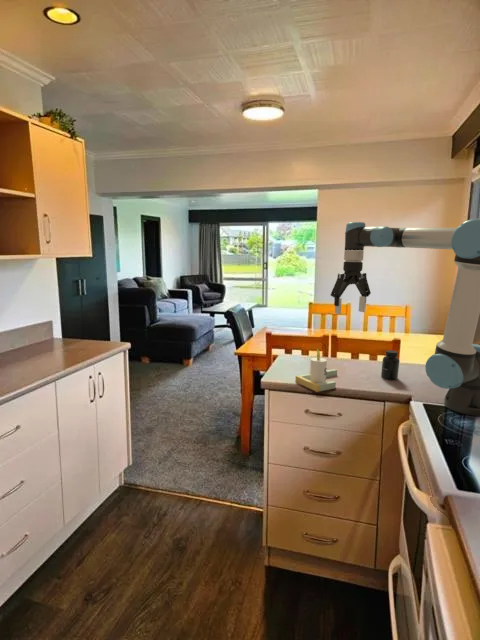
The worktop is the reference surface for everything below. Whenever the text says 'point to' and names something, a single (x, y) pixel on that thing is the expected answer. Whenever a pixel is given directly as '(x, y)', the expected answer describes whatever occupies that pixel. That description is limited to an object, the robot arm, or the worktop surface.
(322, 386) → the rail
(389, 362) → the supplement bottle
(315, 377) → the candle
